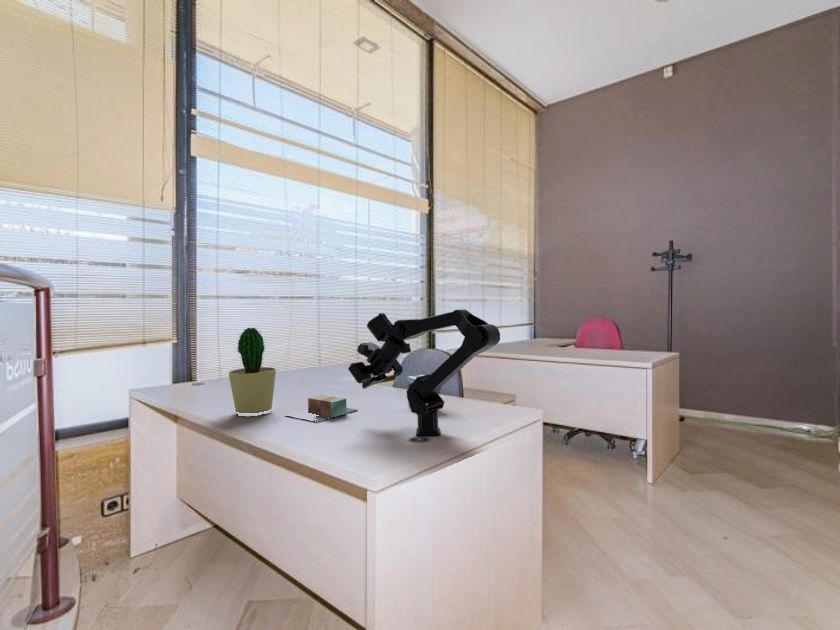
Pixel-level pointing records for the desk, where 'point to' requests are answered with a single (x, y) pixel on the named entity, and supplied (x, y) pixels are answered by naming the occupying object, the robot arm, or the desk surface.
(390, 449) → the desk surface
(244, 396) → the potted cactus
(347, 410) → the grey thin slab
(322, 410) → the walnut block
